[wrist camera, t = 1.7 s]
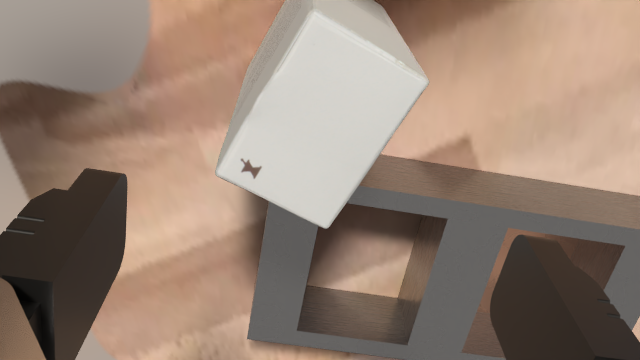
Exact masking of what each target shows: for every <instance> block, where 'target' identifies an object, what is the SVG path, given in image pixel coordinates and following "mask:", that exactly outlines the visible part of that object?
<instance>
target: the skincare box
mask: <svg viewBox="0 0 640 360" xmlns="http://www.w3.org/2000/svg"><path fill="white" fill-rule="evenodd" d="M428 84H429V80H428V78H427V76H426V75H425V73H424V71H423V70H422V68H421V67H420V65H419V64H418V62H417V60H416V59H415V57H414V56H413V54H412V52H411V51H410V49H409V48H408V46H407V45H406V43H405V42H404V40H403V38H402V37H401V35H400V33H399V32H398V30H397V28H396V27H395V25H394V24H393V22H392V20H391V19H390V17H389V16H388V14H387V12H386V11H385V9H384V8H383V6H381V5H380V4H378V3H377V2H375V1H374V0H285V2H284V4H283V5H282V7H281V9H280V11H279V12H278V14H277V16H276V18H275V20H274V21H273V23H272V25H271V27H270V29H269V30H268V32H267V34H266V36H265V38H264V40H263V41H262V43H261V45H260V47H259V49H258V50H257V52H256V54H255V56H254V58H253V59H252V61H251V63H250V65H249V66H248V69H247V72H246V75H245V78H244V81H243V84H242V88H241V90H240V94H239V97H238V100H237V104H236V107H235V110H234V113H233V116H232V119H231V122H230V125H229V128H228V132H227V135H226V138H225V141H224V143H223V146H222V149H221V152H220V156H219V159H218V163H217V166H216V170H215V174H216V176H217V177H220V178H222V179H224V180H226V181H228V182H230V183H232V184H234V185H236V186H239V187H241V188H243V189H245V190H247V191H249V192H251V193H253V194H255V195H257V196H260V197H262V198H264V199H266V200H268V201H270V202H272V203H274V204H276V205H278V206H280V207H282V208H284V209H286V210H288V211H290V212H291V213H293V214H295V215H297V216H299V217H301V218H303V219H306V220H308V221H310V222H312V223H314V224H316V225H318V226H320V227H322V228H324V229H327V228H329V227H330V225H331V224H332V222H333V221H334V220H335V218H336V217H337V215H338V214H339V213H340V211H341V210H342V208H343V207H344V205H345V204H346V203H347V201H348V200H349V198H350V197H351V195H352V194H353V193H354V191H355V190H356V188H357V187H358V186H359V184H360V183H361V181H362V180H363V178H364V177H365V176H366V174H367V173H368V171H369V170H370V168H371V167H372V165H373V164H374V162H375V161H376V159H377V158H378V156H379V155H380V153H381V152H382V150H383V149H384V147H385V146H386V144H387V143H388V141H389V140H390V138H391V137H392V135H393V134H394V132H395V131H396V130H397V128H398V127H399V125H400V124H401V123H402V121H403V120H404V118H405V117H406V115H407V114H408V112H409V111H410V110H411V108H412V107H413V105H414V104H415V102H416V101H417V99H418V98H419V97H420V95H421V94H422V92H423V91H424V90H425V88H426V87H427V86H428Z"/></svg>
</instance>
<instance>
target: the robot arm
mask: <svg viewBox="0 0 640 360" xmlns="http://www.w3.org/2000/svg"><path fill="white" fill-rule="evenodd" d="M126 211H127V177H126V175H125V174H122V173H116V172H109V171H102V170H96V169H89V168H86V169H84V171H83V172H82V173H81V174H80V176H79V177H78V178H77V179H76V181H75V182H74V183H73V184H72V186H71V187H70V188H69V190H61V189H54V188H53V189H52V190H50V191H48V192H46V193H44V194H42V195H40V196H38V197H36V198H34V199H32V200H30V202H29V203H28V204H27V205H26V206H25V207H24V209H23V210H22V211H21V212H20V213H19V214H18V217H17V218H15V219H14V220H13V221H12V222H11V223H10V225H9V226H8V227H7V228H6V231H3V232H2V234H1V235H0V360H75V358H76V356H77V354H78V352H79V350H80V348H81V346H82V344H83V342H84V340H85V338H86V336H87V334H88V332H89V330H90V328H91V326H92V324H93V322H94V320H95V318H96V316H97V314H98V312H99V310H100V308H101V306H102V304H103V302H104V300H105V298H106V296H107V294H108V292H109V290H110V288H111V286H112V284H113V282H114V280H115V278H116V276H117V273H118V271H119V269H120V266H121V263H122V259H123V255H124V249H125V239H126ZM620 316H621V315H620V314H619V312H618V311H617V309H616V308H615V306H614V305H613V304H610V299H609V298H608V296H607V295H606V294H605V292H604V291H603V289H602V288H601V286H600V285H599V284H598V283H597V282H596V281H595V280H594V279H593V278H591V277H590V276H589V275H588V274H586V273H585V272H584V271H583V270H582V269H580V268H579V267H578V266H574V264H573V263H572V261H571V260H570V259H569V257H568V256H567V254H566V253H565V251H564V250H563V248H562V247H561V245H560V244H559V242H558V241H556V240H554V239H548V238H541V237H535V236H528V235H518V236H516V237H515V239H514V240H513V242H512V244H511V246H510V249H509V251H508V254H507V257H506V259H505V262H504V264H503V267H502V270H501V272H500V275H499V277H498V280H497V283H496V285H495V288H494V290H493V293H492V297H491V302H490V318H491V323H492V326H493V328H494V331H495V333H496V336H497V338H498V341H499V343H500V346H501V348H502V351H503V353H504V356H505V358H506V360H640V342H639V341H638V339H637V338H636V336H635V335H634V334H633V332H632V331H631V329H630V328H629V326H628V325H627V324H626V322H625V321H624V319H620Z"/></svg>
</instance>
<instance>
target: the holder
mask: <svg viewBox="0 0 640 360" xmlns="http://www.w3.org/2000/svg"><path fill="white" fill-rule="evenodd" d="M347 203H349V204H356V205H362V206H369V207H375V208H382V209H388V210H395V211H401V212H408V213H414V214H421V215H423V216H422V219H421V222H420V226H419V229H418V232H417V236H416V239H415V243H414V246H413V249H412V253H411V256H410V259H409V263H408V266H407V270H406V273H405V276H404V280H403V283H402V286H401V290H400V293H399V296H398V298H392V297H385V296H377V295H370V294H363V293H356V292H349V291H342V290H334V289H327V288H320V287H313V286H306V283H307V278H308V274H309V269H310V264H311V259H312V254H313V250H314V245H315V240H316V235H317V230H318V225H316V224H314V223H312V222H310V221H308V220H306V219H303V218H301V217H299V216H297V215H295V214H293V213H291V212H290V211H288V210H286V209H284V208H282V207H280V206H278V205H276V204H274V203H272V202H270V201H268V208H267V214H266V220H265V226H264V233H263V239H262V245H261V251H260V258H259V264H258V270H257V277H256V283H255V289H254V296H253V302H252V309H251V316H250V323H249V330H248V337H247V339H251V340H259V341H266V342H274V343H282V344H289V345H297V346H305V347H312V348H320V349H328V350H335V351H343V352H351V353H358V354H366V355H373V356H381V357H389V358H396V359H404V360H506V358H505V356H504V353H503V351H502V348H501V346H500V343H499V341H498V338H497V336H496V333H495V331H494V328H493V326H492V323H491V318H490V302H491V297H492V293H493V290H494V288H495V285H496V283H497V280H498V277H499V275H500V272H501V270H502V267H503V264H504V262H505V259H506V257H507V254H508V251H509V249H510V246H511V244H512V242H513V240H514V239H515V237H516V236H518V235H528V236H535V237H541V238H548V239H554V240H556V241H558V242H559V244H560V245H561V247H562V248H563V250H564V251H565V253H566V254H567V256H568V257H569V259H570V260H571V261H572V263H573V264H574V266H578V267H579V268H580V269H582V270H583V271H584V272H585V273H586V274H588V275H589V276H590V277H591V278H593V279H594V280H595V281H596V282H597V283H598V284H599V285H600V286H601V288H602V289H603V291H604V292H605V294H606V295H607V296H608V298H609V299H610V304H613V305H614V306H615V308H616V309H617V311H618V312H619V314H620V315H621V316H620V319H624V321H625V322H626V324H627V325H628V326H629V328H630V329H631V331H632V329H633V327H634V326H635V324H636V322H637V320H638V318H639V316H640V196H634V195H628V194H622V193H616V192H609V191H603V190H597V189H591V188H585V187H578V186H572V185H566V184H560V183H553V182H547V181H541V180H535V179H529V178H522V177H516V176H510V175H504V174H498V173H491V172H485V171H479V170H473V169H467V168H460V167H454V166H448V165H442V164H435V163H429V162H423V161H417V160H411V159H404V158H398V157H392V156H386V155H379V156H378V158H377V159H376V161H375V162H374V164H373V165H372V167H371V168H370V170H369V171H368V173H367V174H366V176H365V177H364V178H363V180H362V181H361V183H360V184H359V186H358V187H357V188H356V190H355V191H354V193H353V194H352V195H351V197H350V198H349V200H348V201H347Z"/></svg>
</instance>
